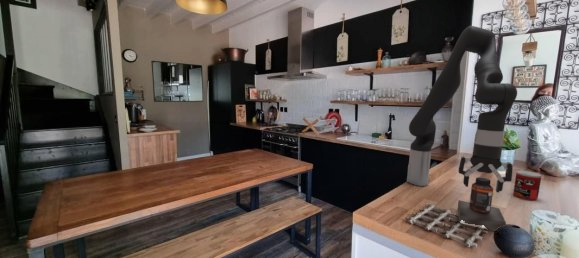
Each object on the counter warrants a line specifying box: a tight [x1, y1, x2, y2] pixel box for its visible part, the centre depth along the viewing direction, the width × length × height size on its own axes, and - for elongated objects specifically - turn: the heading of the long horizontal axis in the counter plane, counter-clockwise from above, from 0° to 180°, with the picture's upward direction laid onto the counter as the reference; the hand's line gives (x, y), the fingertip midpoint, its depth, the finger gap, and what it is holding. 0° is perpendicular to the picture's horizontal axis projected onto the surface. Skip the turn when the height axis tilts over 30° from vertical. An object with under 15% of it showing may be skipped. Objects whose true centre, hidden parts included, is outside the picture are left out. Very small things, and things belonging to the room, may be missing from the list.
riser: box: [457, 200, 507, 233], centre depth 86 cm, size 12×12×4 cm
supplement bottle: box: [469, 176, 494, 213], centre depth 86 cm, size 6×6×11 cm
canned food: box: [513, 170, 542, 201], centre depth 108 cm, size 8×8×11 cm
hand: (481, 188), depth 85 cm, fingers open, 8 cm apart
